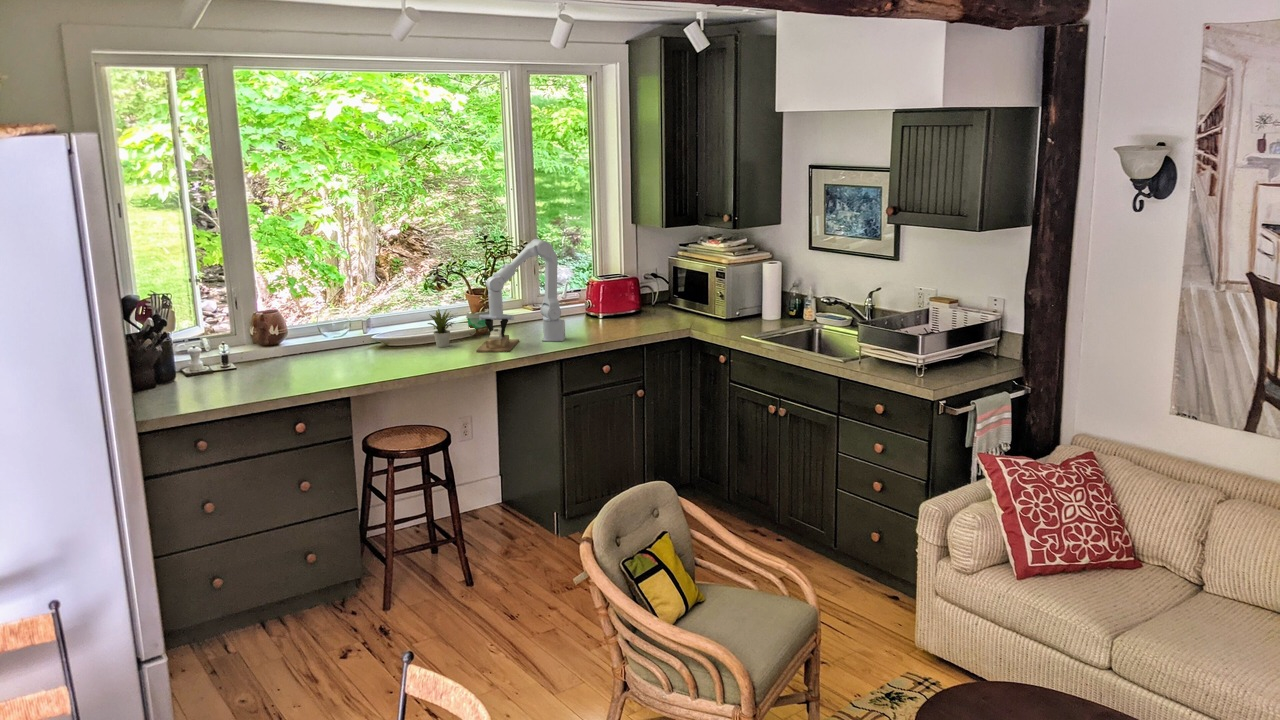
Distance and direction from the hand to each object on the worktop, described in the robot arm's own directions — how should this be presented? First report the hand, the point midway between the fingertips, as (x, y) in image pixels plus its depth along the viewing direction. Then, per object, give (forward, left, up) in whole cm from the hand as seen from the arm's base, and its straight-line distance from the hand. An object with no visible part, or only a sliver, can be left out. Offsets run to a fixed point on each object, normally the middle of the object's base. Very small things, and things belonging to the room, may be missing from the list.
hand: (497, 336), depth 426 cm
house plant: (+24, 0, -5) cm, 24 cm away
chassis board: (0, 0, -4) cm, 4 cm away
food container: (+13, -25, -5) cm, 29 cm away
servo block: (0, 0, -2) cm, 2 cm away
